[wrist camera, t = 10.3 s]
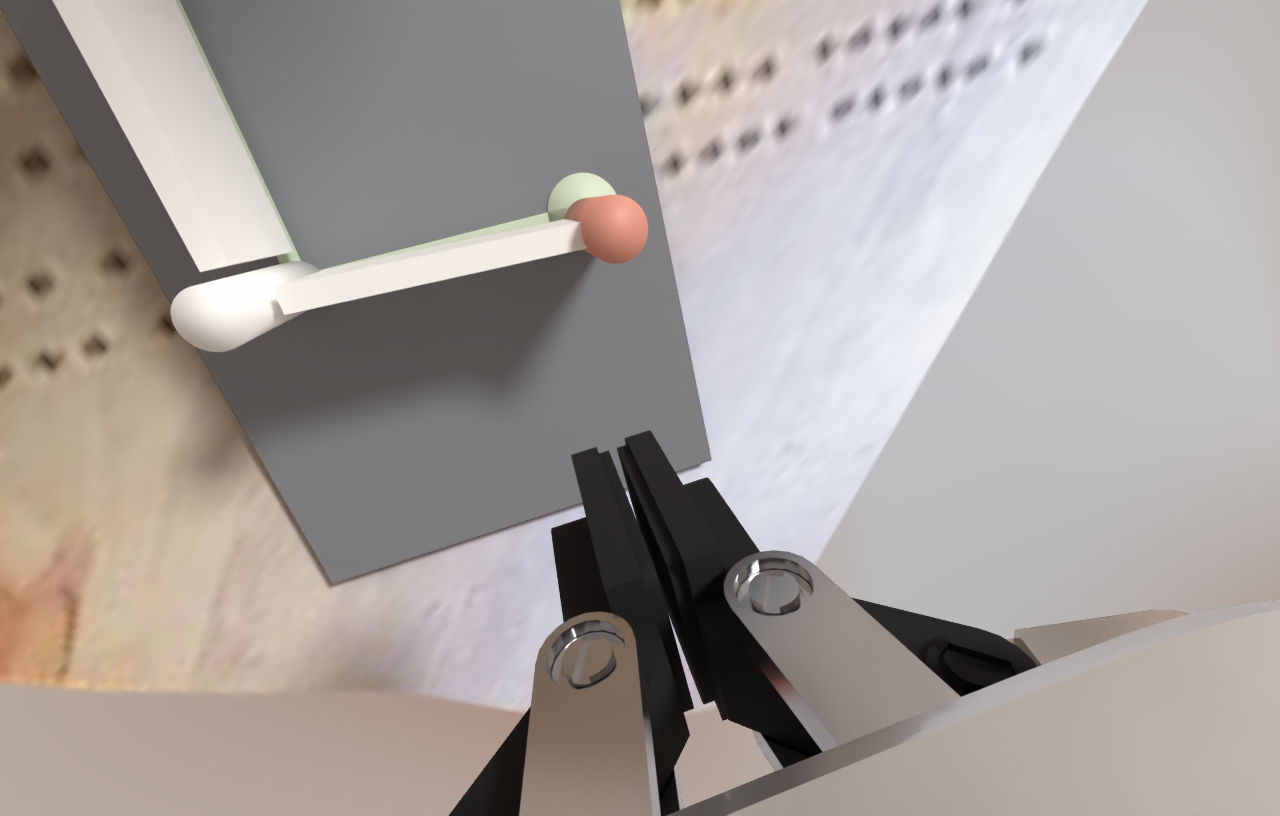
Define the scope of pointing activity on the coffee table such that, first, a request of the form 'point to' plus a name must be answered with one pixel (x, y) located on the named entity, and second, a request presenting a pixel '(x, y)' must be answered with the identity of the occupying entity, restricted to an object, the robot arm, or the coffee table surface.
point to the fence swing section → (480, 254)
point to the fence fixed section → (189, 164)
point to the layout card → (412, 220)
